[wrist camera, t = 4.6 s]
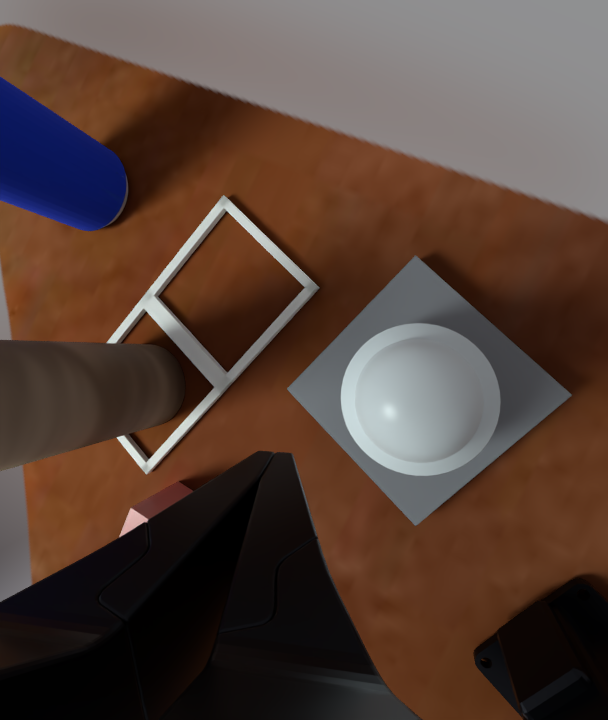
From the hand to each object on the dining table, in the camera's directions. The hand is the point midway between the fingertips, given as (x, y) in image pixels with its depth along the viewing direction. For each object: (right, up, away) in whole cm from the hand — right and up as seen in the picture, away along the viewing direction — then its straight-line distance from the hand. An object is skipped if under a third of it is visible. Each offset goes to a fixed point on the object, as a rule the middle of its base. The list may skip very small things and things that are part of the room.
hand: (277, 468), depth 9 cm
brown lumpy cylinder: (-9, +1, +14) cm, 17 cm away
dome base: (+6, +1, +10) cm, 12 cm away
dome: (+6, +1, +8) cm, 10 cm away
